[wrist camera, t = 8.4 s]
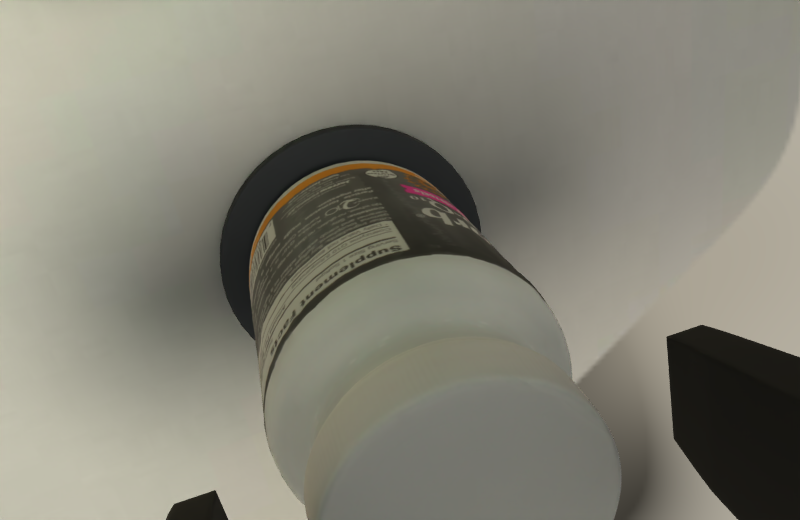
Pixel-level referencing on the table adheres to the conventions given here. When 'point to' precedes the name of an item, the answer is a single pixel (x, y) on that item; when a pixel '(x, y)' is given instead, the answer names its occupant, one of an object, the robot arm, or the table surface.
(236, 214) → the coaster
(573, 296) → the table surface
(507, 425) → the pill bottle
